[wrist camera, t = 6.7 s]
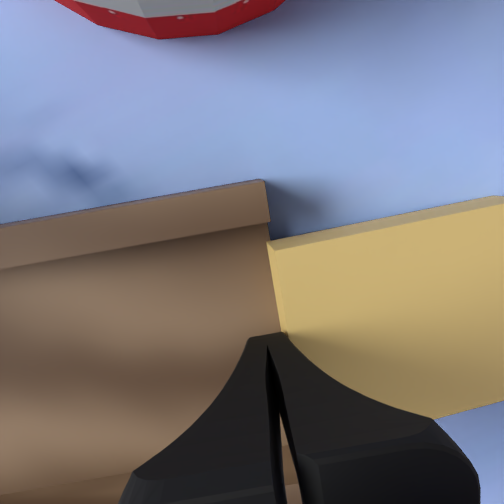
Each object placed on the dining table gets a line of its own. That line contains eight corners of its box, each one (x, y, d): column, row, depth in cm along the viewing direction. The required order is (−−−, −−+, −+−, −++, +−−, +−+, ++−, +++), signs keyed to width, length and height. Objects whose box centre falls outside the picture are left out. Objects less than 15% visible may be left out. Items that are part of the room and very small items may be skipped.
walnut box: (302, 449, 15) (315, 505, 13) (-105, 520, 15) (-173, 589, 13) (259, 178, 12) (264, 181, 10) (-252, 268, 12) (-380, 294, 10)
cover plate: (490, 373, 15) (521, 395, 13) (296, 424, 14) (307, 453, 12) (492, 195, 13) (529, 198, 11) (266, 241, 12) (274, 251, 10)
